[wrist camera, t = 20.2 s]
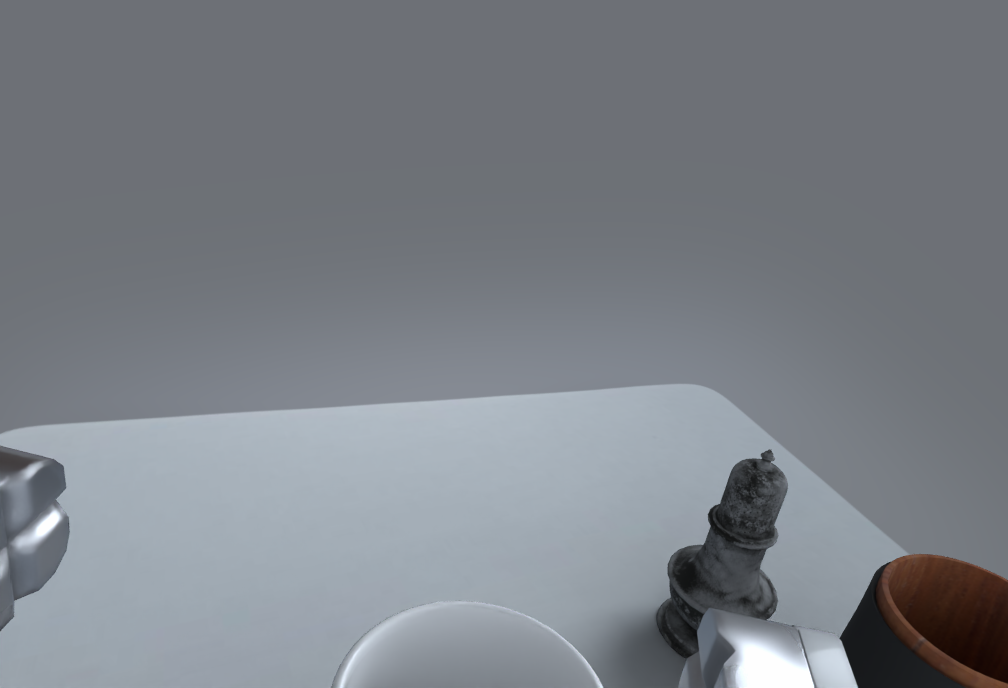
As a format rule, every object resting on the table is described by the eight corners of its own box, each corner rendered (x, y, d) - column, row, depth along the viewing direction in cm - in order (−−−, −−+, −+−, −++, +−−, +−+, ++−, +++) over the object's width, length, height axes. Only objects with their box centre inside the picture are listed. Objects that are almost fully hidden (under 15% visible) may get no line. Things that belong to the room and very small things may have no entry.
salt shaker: (777, 643, 44) (853, 464, 39) (718, 692, 40) (793, 500, 35) (692, 579, 48) (751, 407, 43) (630, 618, 44) (686, 435, 39)
